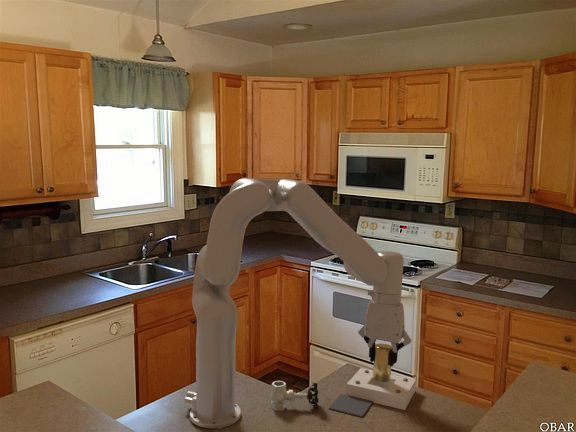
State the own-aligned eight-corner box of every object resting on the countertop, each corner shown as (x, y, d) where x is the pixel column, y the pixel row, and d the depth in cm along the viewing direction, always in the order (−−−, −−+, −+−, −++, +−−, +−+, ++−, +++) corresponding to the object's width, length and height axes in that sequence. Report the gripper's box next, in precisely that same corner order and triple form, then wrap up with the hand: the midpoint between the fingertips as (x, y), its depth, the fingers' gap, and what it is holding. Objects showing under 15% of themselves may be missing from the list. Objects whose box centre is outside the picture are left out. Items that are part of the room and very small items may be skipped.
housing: (346, 396, 141) (346, 382, 140) (360, 379, 151) (360, 366, 151) (404, 410, 134) (405, 395, 133) (415, 391, 144) (415, 378, 144)
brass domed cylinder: (370, 379, 141) (372, 347, 140) (375, 373, 145) (377, 342, 144) (387, 383, 138) (390, 351, 137) (392, 377, 143) (394, 345, 142)
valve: (270, 414, 130) (318, 413, 131) (271, 389, 129) (318, 389, 130) (269, 401, 137) (315, 401, 138) (270, 378, 136) (315, 377, 137)
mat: (328, 409, 133) (328, 407, 133) (341, 394, 141) (341, 393, 141) (362, 417, 129) (362, 416, 129) (372, 402, 137) (373, 401, 137)
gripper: (352, 295, 139) (348, 360, 141) (415, 306, 132) (410, 374, 134) (361, 289, 146) (357, 351, 148) (421, 299, 139) (416, 364, 141)
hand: (382, 361), depth 141 cm, fingers closed on brass domed cylinder, 4 cm apart
